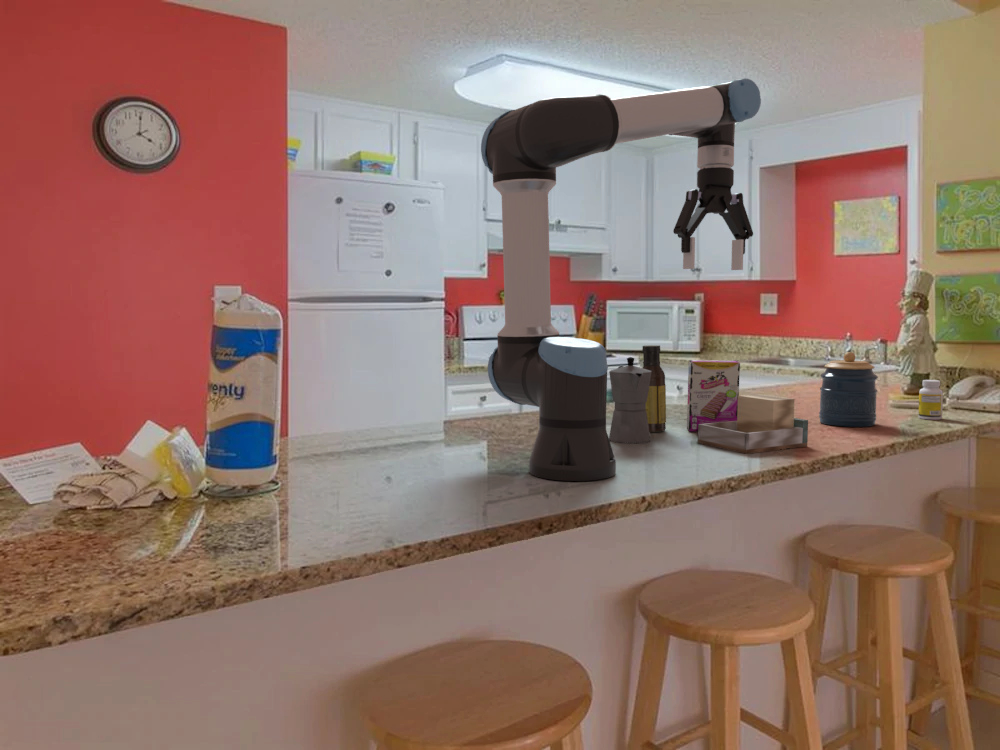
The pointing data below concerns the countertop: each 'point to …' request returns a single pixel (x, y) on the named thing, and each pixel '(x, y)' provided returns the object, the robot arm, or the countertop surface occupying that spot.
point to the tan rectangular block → (764, 413)
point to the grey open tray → (753, 437)
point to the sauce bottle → (655, 389)
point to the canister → (848, 393)
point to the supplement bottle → (930, 400)
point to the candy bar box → (712, 392)
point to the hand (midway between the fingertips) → (713, 269)
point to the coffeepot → (630, 404)
